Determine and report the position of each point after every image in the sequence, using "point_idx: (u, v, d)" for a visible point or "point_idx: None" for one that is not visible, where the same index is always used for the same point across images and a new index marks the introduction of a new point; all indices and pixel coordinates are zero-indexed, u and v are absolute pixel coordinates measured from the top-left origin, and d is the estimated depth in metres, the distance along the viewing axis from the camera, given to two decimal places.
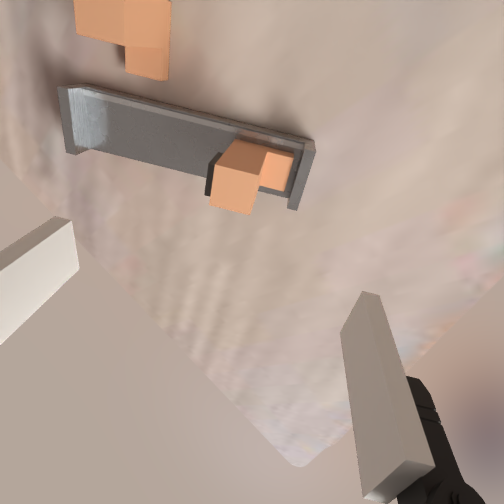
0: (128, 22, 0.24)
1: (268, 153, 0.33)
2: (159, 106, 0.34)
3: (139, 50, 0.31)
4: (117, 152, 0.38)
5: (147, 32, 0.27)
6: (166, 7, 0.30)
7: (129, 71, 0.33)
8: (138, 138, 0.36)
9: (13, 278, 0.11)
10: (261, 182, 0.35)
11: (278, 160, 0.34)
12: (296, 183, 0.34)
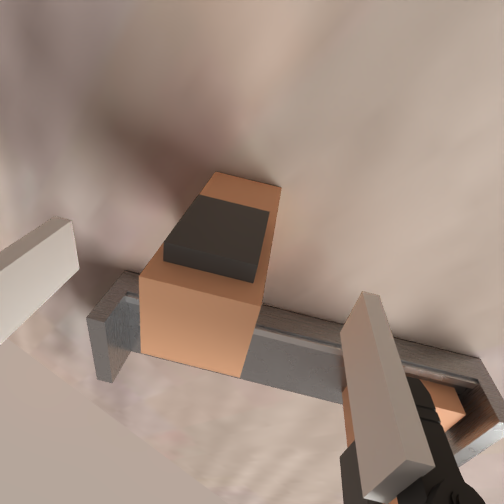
0: None
1: None
2: None
3: None
4: None
5: None
6: None
7: None
8: None
9: (13, 278, 0.11)
10: None
11: None
12: (467, 448, 0.21)
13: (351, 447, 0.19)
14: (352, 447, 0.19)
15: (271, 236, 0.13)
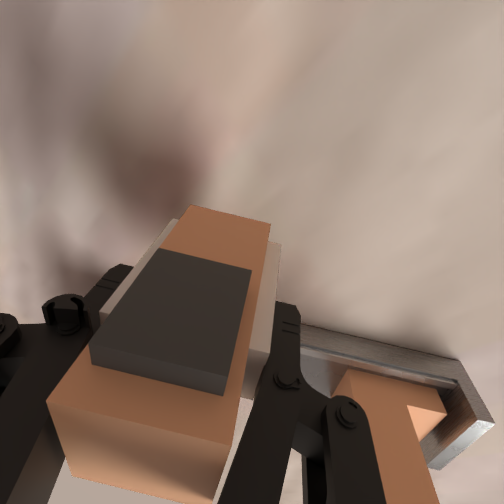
0: None
1: (408, 406, 0.22)
2: None
3: None
4: None
5: None
6: None
7: None
8: None
9: None
10: None
11: (421, 414, 0.22)
12: (450, 447, 0.22)
13: None
14: None
15: (254, 303, 0.10)
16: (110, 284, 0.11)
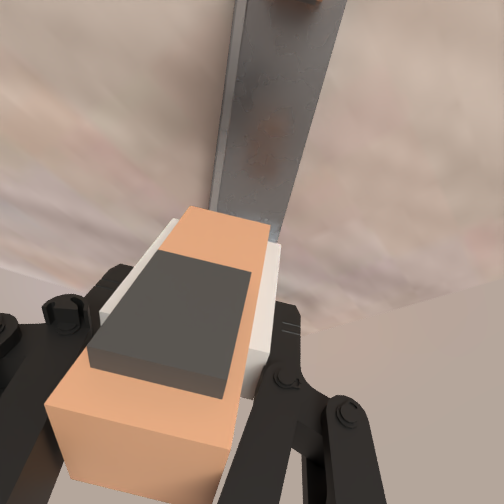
0: None
1: None
2: (219, 130, 0.24)
3: None
4: (282, 207, 0.27)
5: None
6: None
7: None
8: (263, 171, 0.26)
9: None
10: None
11: None
12: None
13: None
14: None
15: (254, 305, 0.10)
16: (110, 284, 0.11)
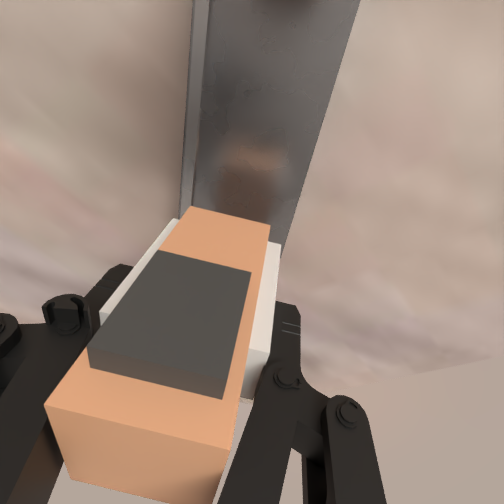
0: None
1: None
2: (184, 159, 0.17)
3: None
4: None
5: None
6: None
7: None
8: (247, 214, 0.19)
9: None
10: None
11: None
12: None
13: None
14: None
15: (254, 305, 0.10)
16: (110, 284, 0.11)
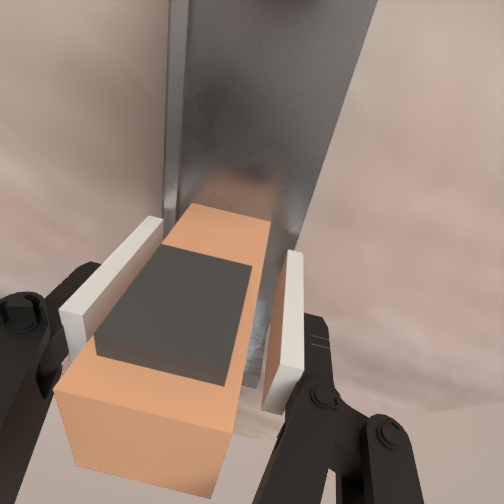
0: None
1: None
2: (165, 181, 0.14)
3: None
4: (272, 293, 0.17)
5: None
6: None
7: None
8: None
9: (131, 270, 0.12)
10: None
11: None
12: None
13: None
14: None
15: (254, 298, 0.10)
16: (77, 282, 0.11)
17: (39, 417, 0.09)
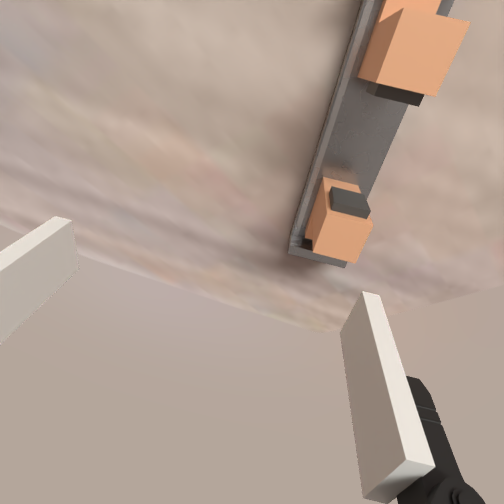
0: None
1: (381, 20, 0.25)
2: (313, 167, 0.34)
3: None
4: None
5: None
6: None
7: (308, 237, 0.36)
8: None
9: (13, 278, 0.11)
10: None
11: (394, 2, 0.24)
12: None
13: None
14: None
15: None
16: None
17: None
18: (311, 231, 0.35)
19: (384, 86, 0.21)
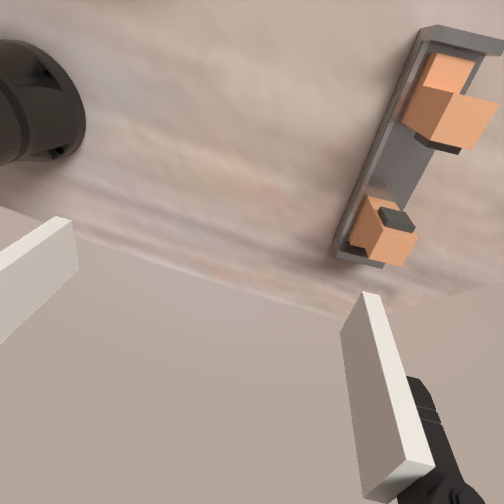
0: None
1: (425, 84, 0.32)
2: (359, 188, 0.42)
3: None
4: None
5: None
6: None
7: (353, 244, 0.44)
8: None
9: (13, 278, 0.11)
10: (456, 91, 0.32)
11: (435, 72, 0.32)
12: (470, 45, 0.29)
13: None
14: None
15: None
16: None
17: None
18: (356, 239, 0.44)
19: (434, 140, 0.29)
